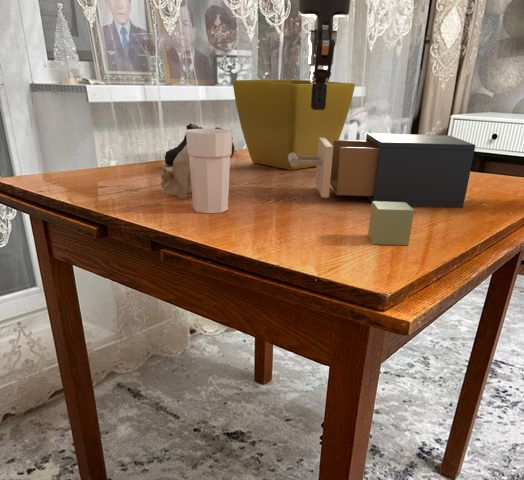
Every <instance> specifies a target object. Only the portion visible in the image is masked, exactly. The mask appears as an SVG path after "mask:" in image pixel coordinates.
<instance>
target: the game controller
mask: <svg viewBox="0 0 524 480" xmlns="http://www.w3.org/2000/svg"><path fill="white" fill-rule="evenodd" d="M188 129H204V127H202V126H199V125H197V124H195V123H188V125H186V130H188ZM214 129H222V128H221V127H218V126H217V127H215V128H214ZM233 140H234V138H233V136H232V153H231V156H230V160H232V158H233V156H234V154H235V150H236V149H235V144H234V142H233ZM186 144H187V139H186V133H185V134H184V137H183V140H182V141H181V142H180V143H179V144H178V145H177V146H176V147H173V148H171V149H169V150H167V151H166V152H165V155H164V162H165V164H166V165H167V166H168V167H173V161H174V159H175V158H176V157H177V155H178V153H179V152H181V151H182V150H183V148H184V147H185V146H186Z"/></svg>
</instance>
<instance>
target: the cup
mask: <svg viewBox="0 0 524 480" xmlns="http://www.w3.org/2000/svg"><path fill="white" fill-rule="evenodd" d="M185 134H186V139H187V152H188V154H189V162H190V174H191V186H192V193H191V195H192V196H191V197H192V210H194V211H195V212H196V213H202V214H221V213H224V212H226V211H228V210H229V193H230V191H229V190H230V172H231V171H230V169H231V159H230V156H231V153H232V142H233V141H232V137H233V130H230V129H224V128H221V129H215V128H203V129H188V130H187V129H186V130H185Z"/></svg>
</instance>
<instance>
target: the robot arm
mask: <svg viewBox="0 0 524 480" xmlns="http://www.w3.org/2000/svg"><path fill="white" fill-rule="evenodd" d="M351 2H352V0H298V8H297V9H298V14H299V15H300V16H303V17H309V18H313V21H314V22H313V29H310V30H308V36H307V37H308V40H307V43H308V45H309V53H308V65H309V66H310V71H309V76H310V80H309V81H311V82H312V93H311V108H312V109H313V110H324V109H325V107H326V92H327V84H326V83H328V82H329V81H330V79H331V76H332V72H331V71H332V65H334V59H335V58H334V56H335V47H336V44H337V40H338V30H334V18H344V17H348V16H349V15H350V13H351ZM320 66H321V67H322V68H319V67H320Z"/></svg>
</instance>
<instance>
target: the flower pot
mask: <svg viewBox="0 0 524 480" xmlns="http://www.w3.org/2000/svg"><path fill="white" fill-rule="evenodd" d="M326 84H327V92H326V107H325V109H324V110H313V109H312V108H311V93H312V82H311V80H306V79H305V80H304V79H233V80H232V89H233V94H234V100H235V106H236V110H237V111H236V112H237V116H238V120H239V124H240V128H241V132H242V135H243V139H244V142H245V145H246V148H247V151H248V154H249V157H250V159H251V162H252V163H256V164H260V165H265V166H269V167H272V168H273V167H274V168H279V169H283V170H288V171H289V170H290V171H294V170H299V169H300V170H301V169H305V168H312V167H317V165H305V164H298V166H297V167H292V166H291V165H290V162H289V159H288V155H289V154H290V153H292V152H293V153H295V154H296V155H297V156H317V154H318V140H319V138H326V139H327V140H328V141H329V143H330V144H331V145H332V146H333V140H340V138H341V135H342V133H343V129H344V127H345V123H346V120H347V117H348V114H349V111H350V108H351V104H352V101H353V96H354V92H355V87H356V83H355V82H341V81H339V82H338V81H328V83H326ZM316 161H317V160H316Z"/></svg>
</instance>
